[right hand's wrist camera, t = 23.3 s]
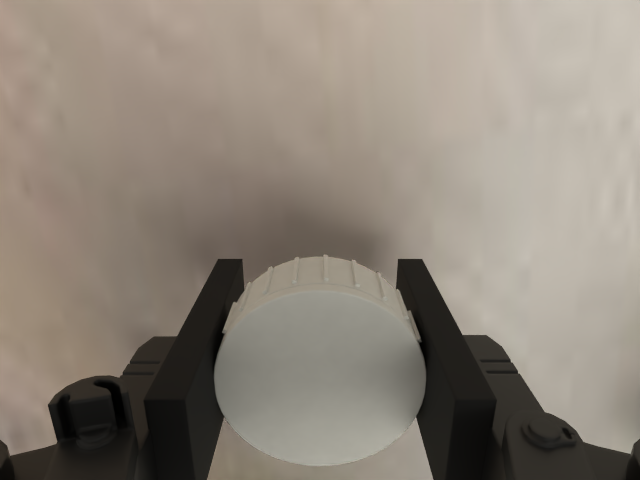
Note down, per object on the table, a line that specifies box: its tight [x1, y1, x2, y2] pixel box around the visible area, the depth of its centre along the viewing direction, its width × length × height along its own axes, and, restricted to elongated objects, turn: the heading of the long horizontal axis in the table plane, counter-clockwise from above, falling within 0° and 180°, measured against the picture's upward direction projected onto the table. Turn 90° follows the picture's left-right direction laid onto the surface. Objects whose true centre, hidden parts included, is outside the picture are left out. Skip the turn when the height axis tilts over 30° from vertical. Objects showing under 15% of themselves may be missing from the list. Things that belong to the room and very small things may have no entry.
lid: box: [214, 255, 426, 466], centre depth 11 cm, size 5×5×2 cm
